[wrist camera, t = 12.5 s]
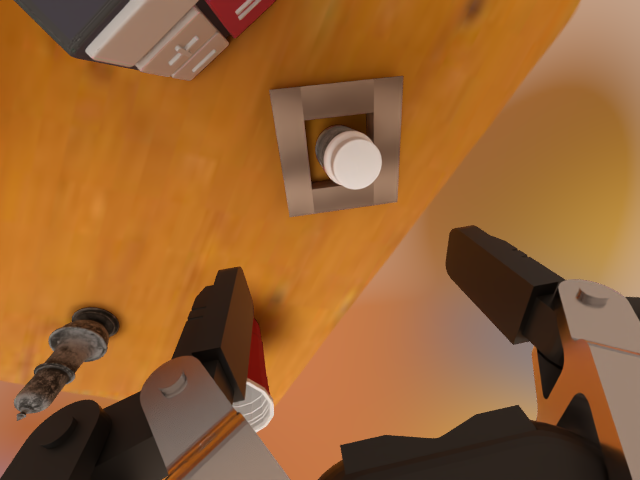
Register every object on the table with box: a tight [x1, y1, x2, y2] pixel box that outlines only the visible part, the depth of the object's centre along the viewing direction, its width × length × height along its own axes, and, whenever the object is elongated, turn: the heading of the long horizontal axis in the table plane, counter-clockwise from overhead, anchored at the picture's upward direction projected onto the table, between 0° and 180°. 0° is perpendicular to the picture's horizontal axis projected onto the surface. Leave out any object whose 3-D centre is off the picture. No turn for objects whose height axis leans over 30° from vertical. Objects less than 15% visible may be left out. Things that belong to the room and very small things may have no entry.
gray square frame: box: [269, 76, 403, 217], centre depth 27 cm, size 12×12×2 cm
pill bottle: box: [315, 125, 382, 190], centre depth 25 cm, size 5×5×8 cm
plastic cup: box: [232, 318, 274, 432], centre depth 33 cm, size 11×11×12 cm
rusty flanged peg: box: [14, 307, 119, 421], centre depth 30 cm, size 6×6×12 cm
